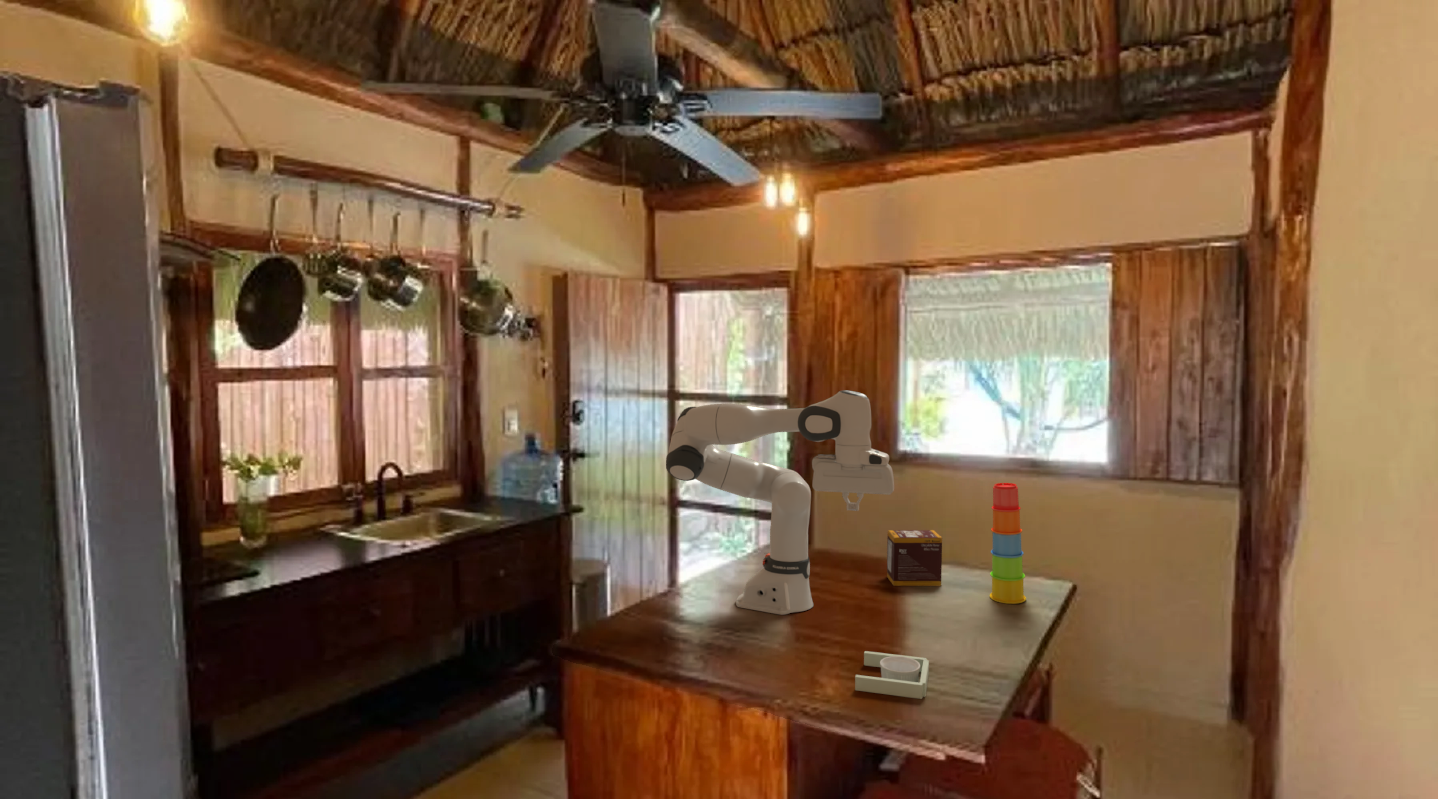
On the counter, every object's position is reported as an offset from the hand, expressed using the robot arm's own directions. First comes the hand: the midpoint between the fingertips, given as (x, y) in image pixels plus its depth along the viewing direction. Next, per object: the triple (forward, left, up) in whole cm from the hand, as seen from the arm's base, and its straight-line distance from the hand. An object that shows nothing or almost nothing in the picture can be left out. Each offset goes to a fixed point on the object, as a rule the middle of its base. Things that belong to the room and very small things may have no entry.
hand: (852, 510), depth 197 cm
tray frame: (+12, -20, -34) cm, 41 cm away
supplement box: (+11, +59, -34) cm, 69 cm away
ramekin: (+14, -20, -34) cm, 42 cm away
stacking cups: (+39, +49, -34) cm, 71 cm away
